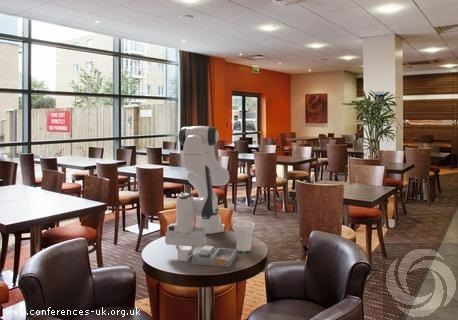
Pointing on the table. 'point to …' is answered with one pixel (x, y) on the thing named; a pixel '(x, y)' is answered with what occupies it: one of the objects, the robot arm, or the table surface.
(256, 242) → the table surface
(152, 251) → the table surface
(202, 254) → the tray
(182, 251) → the white rectangular block
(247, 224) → the cup
